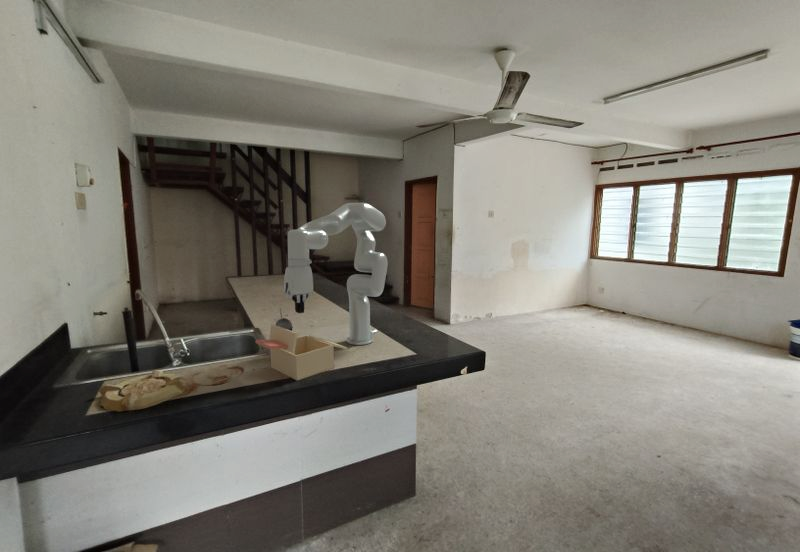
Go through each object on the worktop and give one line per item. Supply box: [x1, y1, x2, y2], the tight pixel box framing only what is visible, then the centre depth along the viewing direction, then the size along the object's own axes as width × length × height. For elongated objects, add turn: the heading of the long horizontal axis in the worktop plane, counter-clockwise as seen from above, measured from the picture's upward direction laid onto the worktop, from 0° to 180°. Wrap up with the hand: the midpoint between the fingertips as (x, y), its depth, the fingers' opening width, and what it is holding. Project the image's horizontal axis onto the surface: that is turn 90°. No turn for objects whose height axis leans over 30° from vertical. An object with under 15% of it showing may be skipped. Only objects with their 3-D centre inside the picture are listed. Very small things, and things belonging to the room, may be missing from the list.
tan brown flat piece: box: [98, 369, 188, 412], centre depth 121 cm, size 24×24×5 cm
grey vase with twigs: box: [274, 307, 293, 331], centre depth 156 cm, size 7×7×20 cm
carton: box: [269, 335, 335, 381], centre depth 143 cm, size 16×18×9 cm
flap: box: [255, 324, 298, 353], centre depth 133 cm, size 7×17×8 cm
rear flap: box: [308, 335, 348, 350], centre depth 151 cm, size 7×17×1 cm, turn 47°
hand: (299, 312), depth 140 cm, fingers closed
